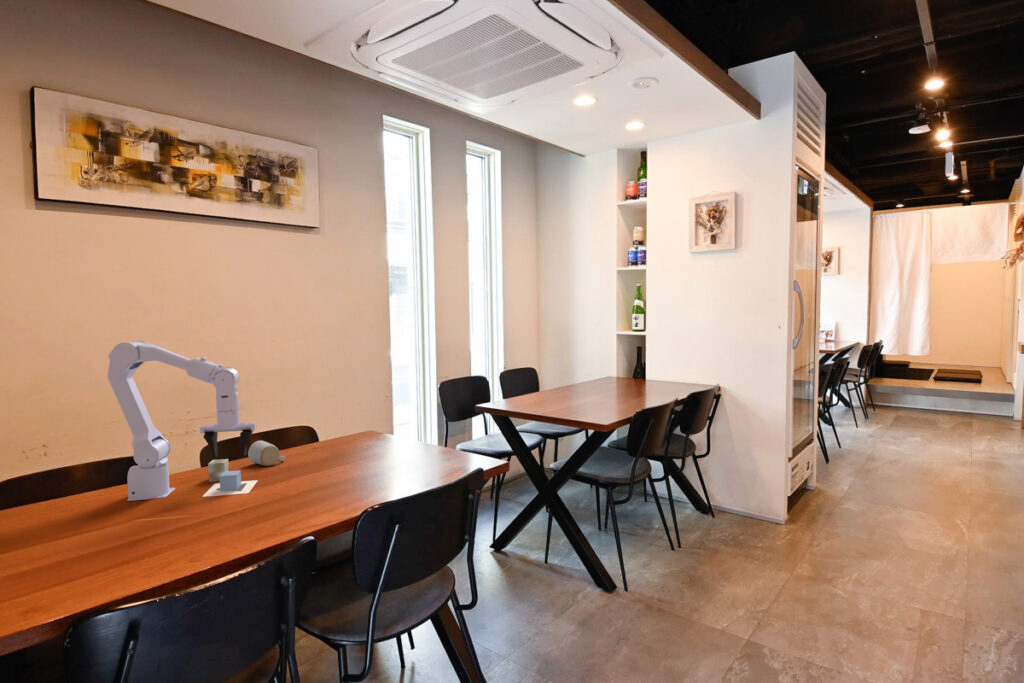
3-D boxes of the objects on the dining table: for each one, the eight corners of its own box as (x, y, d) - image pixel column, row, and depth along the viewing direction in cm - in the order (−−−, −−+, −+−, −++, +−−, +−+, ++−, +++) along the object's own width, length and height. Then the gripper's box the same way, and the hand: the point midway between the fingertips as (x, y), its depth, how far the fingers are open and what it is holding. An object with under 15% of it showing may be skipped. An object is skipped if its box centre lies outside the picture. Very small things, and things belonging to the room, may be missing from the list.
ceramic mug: (261, 469, 183) (260, 446, 183) (247, 465, 188) (247, 442, 187) (290, 462, 192) (289, 440, 191) (276, 458, 196) (276, 436, 196)
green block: (209, 483, 169) (208, 463, 168) (213, 478, 173) (212, 459, 173) (225, 482, 170) (224, 462, 170) (229, 477, 174) (228, 458, 174)
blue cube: (220, 491, 160) (219, 476, 159) (224, 486, 164) (224, 471, 164) (237, 490, 161) (236, 474, 160) (241, 485, 165) (240, 470, 165)
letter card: (202, 498, 156) (202, 496, 156) (215, 484, 167) (214, 483, 167) (248, 494, 158) (248, 493, 158) (257, 481, 170) (257, 480, 170)
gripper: (257, 406, 167) (259, 450, 168) (204, 408, 164) (206, 454, 164) (252, 410, 160) (254, 457, 161) (196, 413, 157) (199, 460, 158)
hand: (229, 456), depth 162 cm, fingers open, 7 cm apart
